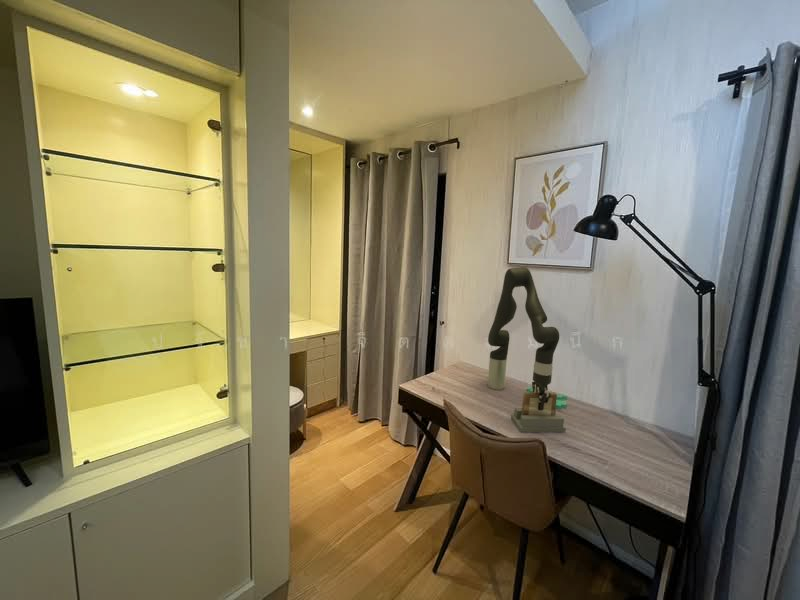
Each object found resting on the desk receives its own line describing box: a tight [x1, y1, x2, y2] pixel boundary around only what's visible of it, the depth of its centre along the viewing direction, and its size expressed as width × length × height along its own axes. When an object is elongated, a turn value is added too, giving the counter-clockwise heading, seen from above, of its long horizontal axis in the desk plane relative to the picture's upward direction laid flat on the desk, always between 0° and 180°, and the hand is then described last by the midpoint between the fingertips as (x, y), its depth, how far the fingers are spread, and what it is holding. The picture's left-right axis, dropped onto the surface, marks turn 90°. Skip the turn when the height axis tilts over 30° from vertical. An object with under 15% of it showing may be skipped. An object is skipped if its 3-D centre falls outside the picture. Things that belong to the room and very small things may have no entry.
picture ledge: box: [510, 407, 567, 433], centre depth 152 cm, size 11×20×6 cm, turn 93°
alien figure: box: [526, 387, 568, 411], centre depth 177 cm, size 20×2×20 cm
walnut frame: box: [521, 391, 558, 415], centre depth 151 cm, size 3×14×12 cm, turn 93°
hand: (538, 408), depth 151 cm, fingers closed on walnut frame, 2 cm apart
